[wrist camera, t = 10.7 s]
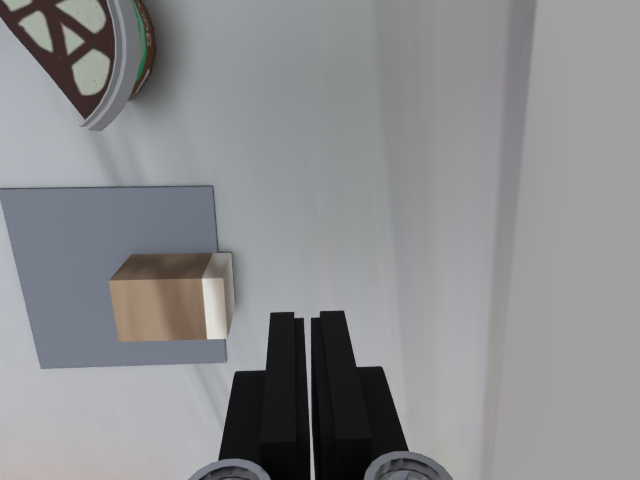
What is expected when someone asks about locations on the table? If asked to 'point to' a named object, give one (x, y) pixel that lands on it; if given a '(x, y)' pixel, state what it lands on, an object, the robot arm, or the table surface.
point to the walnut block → (173, 297)
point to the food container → (88, 49)
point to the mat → (101, 266)
